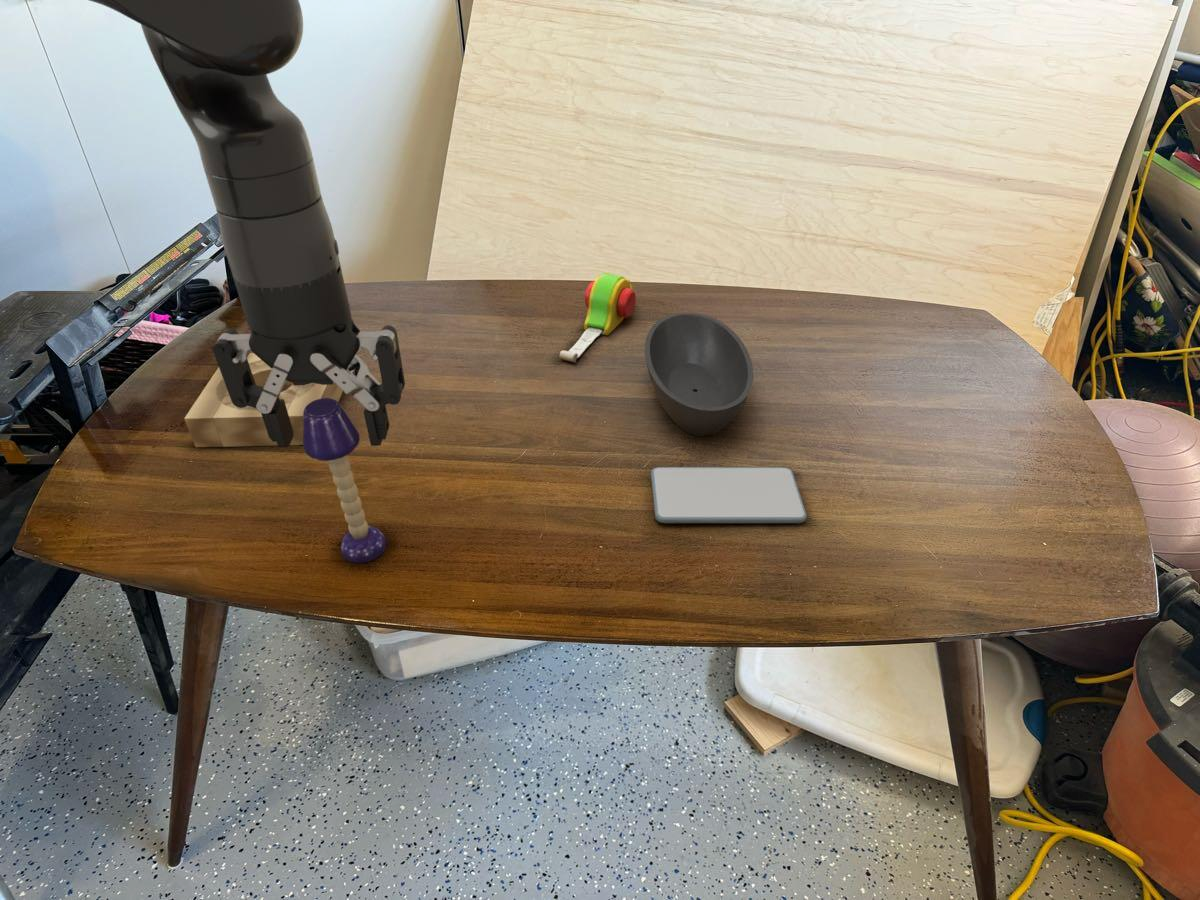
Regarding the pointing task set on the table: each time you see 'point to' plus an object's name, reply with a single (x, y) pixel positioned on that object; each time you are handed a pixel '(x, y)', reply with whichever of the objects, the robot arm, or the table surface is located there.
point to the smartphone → (726, 495)
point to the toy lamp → (341, 474)
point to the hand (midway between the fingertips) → (332, 441)
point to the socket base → (248, 411)
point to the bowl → (698, 371)
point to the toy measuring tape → (603, 310)
